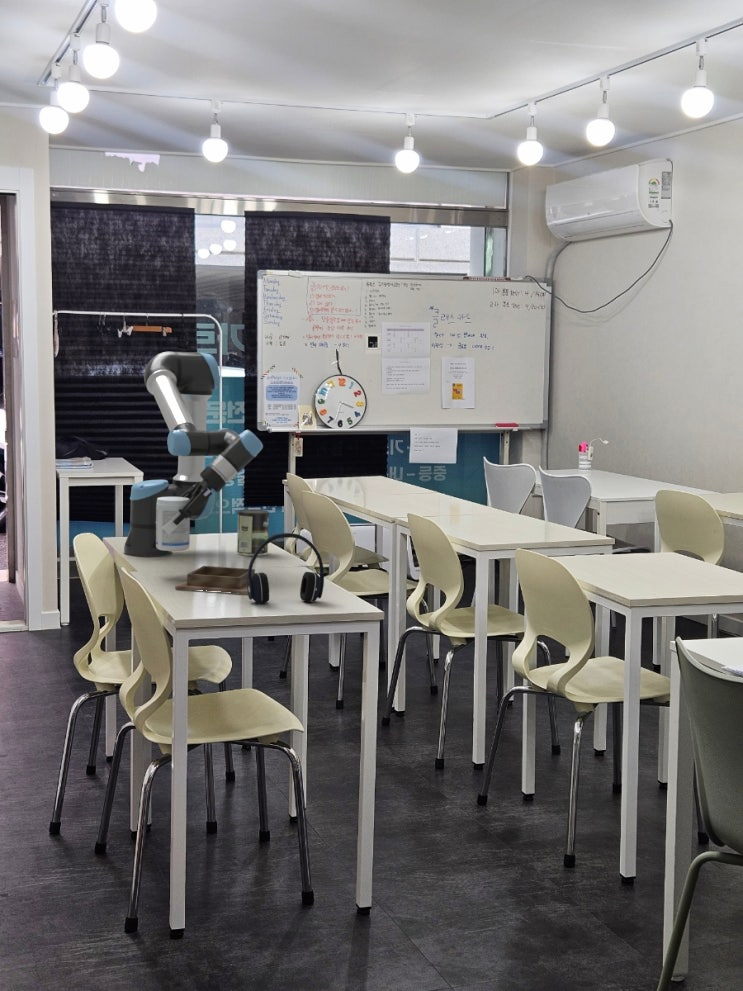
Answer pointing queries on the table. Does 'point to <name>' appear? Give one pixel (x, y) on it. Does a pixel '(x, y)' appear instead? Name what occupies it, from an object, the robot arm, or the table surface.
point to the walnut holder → (217, 580)
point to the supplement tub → (164, 514)
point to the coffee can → (252, 531)
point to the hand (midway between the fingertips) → (162, 528)
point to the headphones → (310, 580)
